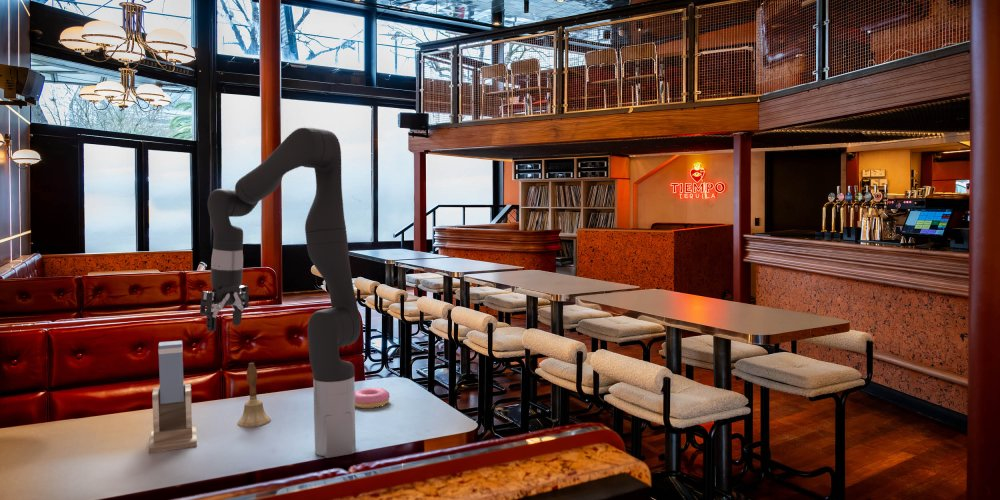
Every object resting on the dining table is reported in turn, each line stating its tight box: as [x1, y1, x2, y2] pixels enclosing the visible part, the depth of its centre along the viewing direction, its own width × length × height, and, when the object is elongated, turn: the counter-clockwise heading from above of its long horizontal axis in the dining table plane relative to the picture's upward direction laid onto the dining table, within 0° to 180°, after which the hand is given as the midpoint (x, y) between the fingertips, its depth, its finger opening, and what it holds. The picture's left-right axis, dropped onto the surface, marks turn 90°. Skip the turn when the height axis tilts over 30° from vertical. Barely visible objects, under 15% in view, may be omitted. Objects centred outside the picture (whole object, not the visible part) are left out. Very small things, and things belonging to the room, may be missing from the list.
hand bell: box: [237, 362, 271, 428], centre depth 170 cm, size 8×8×16 cm
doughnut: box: [355, 387, 391, 409], centre depth 186 cm, size 11×11×4 cm
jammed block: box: [157, 340, 185, 404], centre depth 155 cm, size 5×5×14 cm
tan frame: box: [148, 383, 198, 454], centre depth 156 cm, size 14×10×13 cm
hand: (224, 327), depth 166 cm, fingers open, 8 cm apart
